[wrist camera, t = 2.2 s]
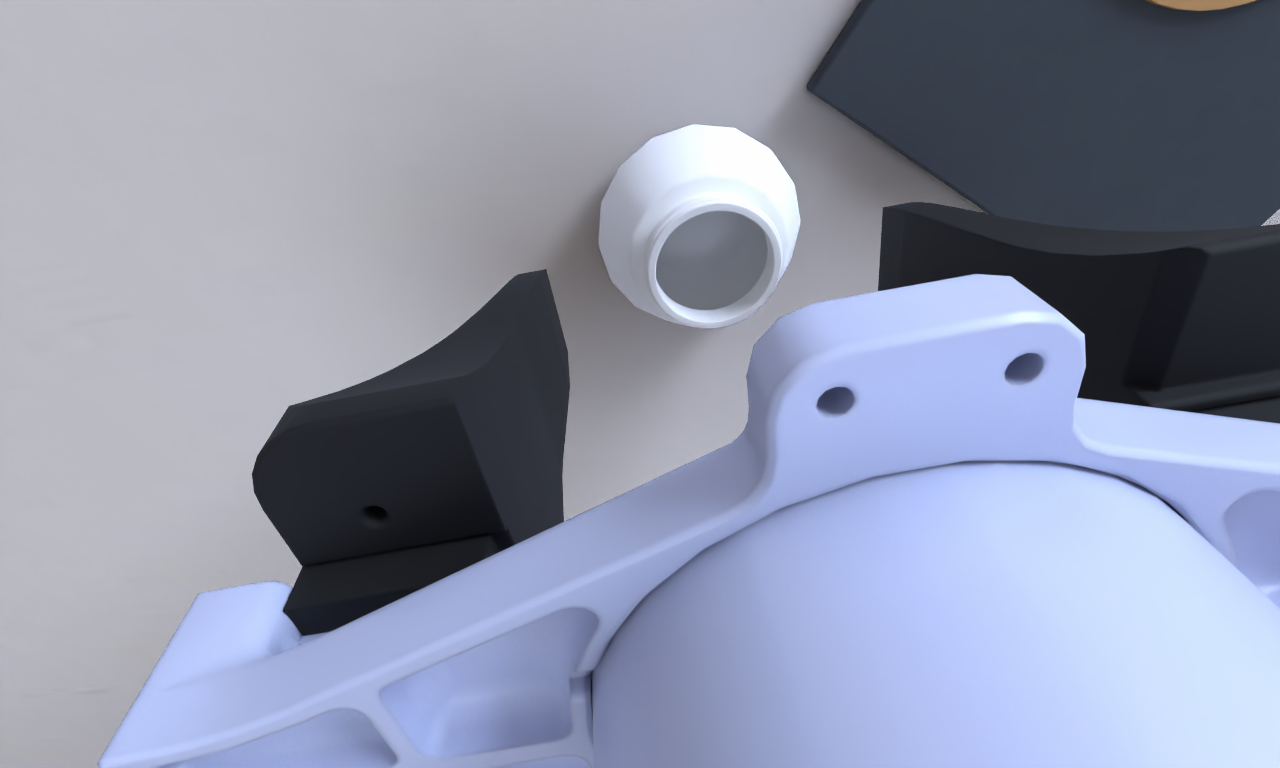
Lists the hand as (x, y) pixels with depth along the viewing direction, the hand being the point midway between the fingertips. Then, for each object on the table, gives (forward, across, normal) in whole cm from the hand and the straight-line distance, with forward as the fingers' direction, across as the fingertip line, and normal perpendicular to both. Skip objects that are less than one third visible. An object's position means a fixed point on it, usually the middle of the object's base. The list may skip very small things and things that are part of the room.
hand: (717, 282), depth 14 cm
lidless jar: (+4, 0, 0) cm, 4 cm away
